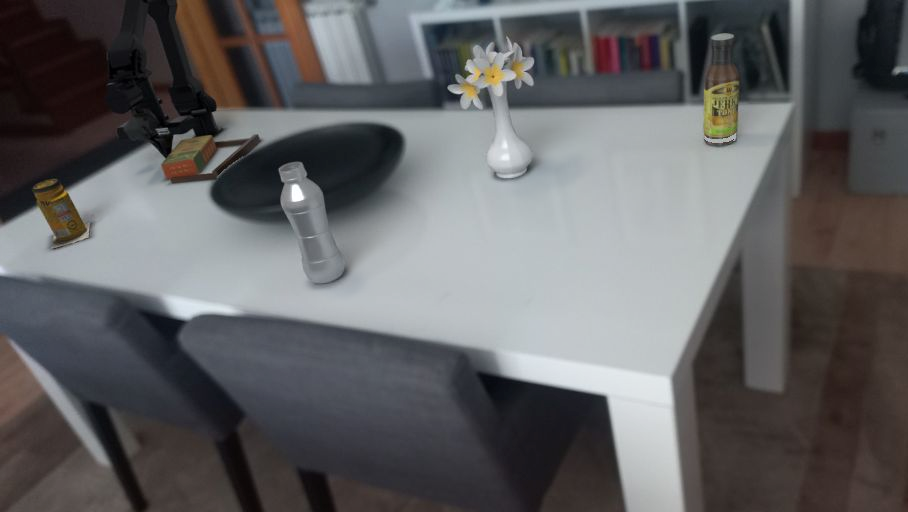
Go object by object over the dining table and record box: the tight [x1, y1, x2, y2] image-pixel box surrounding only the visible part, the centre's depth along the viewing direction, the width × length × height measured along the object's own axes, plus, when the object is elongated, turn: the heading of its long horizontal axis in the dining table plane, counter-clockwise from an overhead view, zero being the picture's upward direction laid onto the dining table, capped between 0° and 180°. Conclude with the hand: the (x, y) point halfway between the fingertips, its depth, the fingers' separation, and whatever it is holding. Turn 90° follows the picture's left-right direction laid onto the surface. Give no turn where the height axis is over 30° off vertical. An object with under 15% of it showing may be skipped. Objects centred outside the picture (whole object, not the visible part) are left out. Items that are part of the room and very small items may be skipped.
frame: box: [169, 133, 261, 184], centre depth 179 cm, size 22×13×2 cm, turn 171°
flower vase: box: [447, 35, 535, 179], centre depth 137 cm, size 13×18×25 cm
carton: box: [160, 135, 218, 180], centre depth 180 cm, size 8×16×4 cm, turn 3°
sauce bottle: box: [702, 32, 740, 147], centre depth 134 cm, size 6×6×20 cm
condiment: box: [31, 178, 91, 249], centre depth 151 cm, size 7×8×12 cm
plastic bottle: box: [278, 161, 346, 284], centre depth 115 cm, size 6×7×20 cm
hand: (169, 160), depth 181 cm, fingers closed
